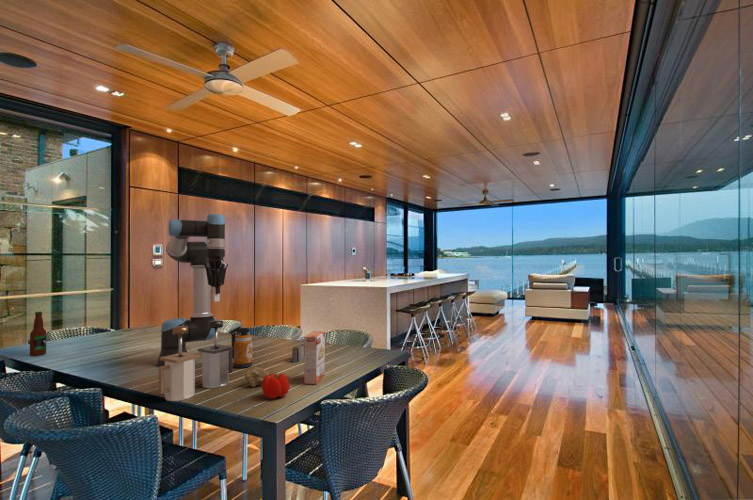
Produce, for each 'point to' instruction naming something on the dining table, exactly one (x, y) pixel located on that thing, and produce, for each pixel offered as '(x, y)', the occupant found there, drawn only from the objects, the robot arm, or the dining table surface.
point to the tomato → (275, 385)
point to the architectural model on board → (298, 353)
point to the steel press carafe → (216, 366)
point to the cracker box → (314, 357)
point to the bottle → (38, 337)
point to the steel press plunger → (215, 329)
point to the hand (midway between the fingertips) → (215, 301)
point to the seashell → (255, 376)
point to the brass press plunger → (180, 335)
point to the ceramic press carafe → (178, 376)
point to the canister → (241, 347)
